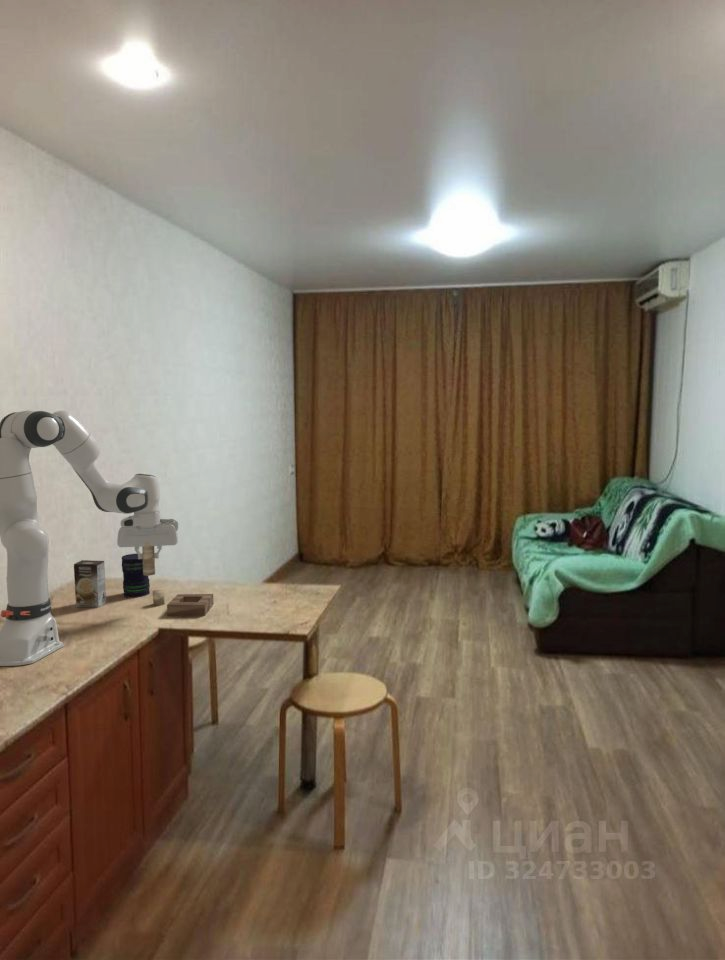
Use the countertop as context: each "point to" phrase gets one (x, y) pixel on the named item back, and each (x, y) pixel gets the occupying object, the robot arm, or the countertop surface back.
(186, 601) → the walnut collar
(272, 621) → the countertop surface
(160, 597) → the short pin
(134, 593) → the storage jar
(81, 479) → the robot arm
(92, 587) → the coffee box
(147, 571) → the long pin
